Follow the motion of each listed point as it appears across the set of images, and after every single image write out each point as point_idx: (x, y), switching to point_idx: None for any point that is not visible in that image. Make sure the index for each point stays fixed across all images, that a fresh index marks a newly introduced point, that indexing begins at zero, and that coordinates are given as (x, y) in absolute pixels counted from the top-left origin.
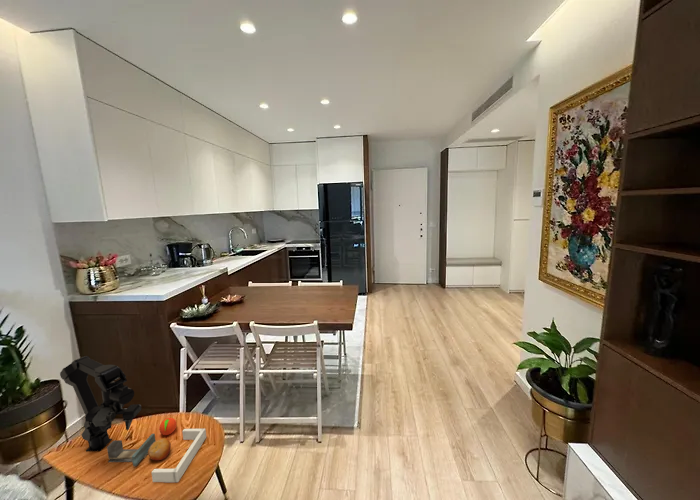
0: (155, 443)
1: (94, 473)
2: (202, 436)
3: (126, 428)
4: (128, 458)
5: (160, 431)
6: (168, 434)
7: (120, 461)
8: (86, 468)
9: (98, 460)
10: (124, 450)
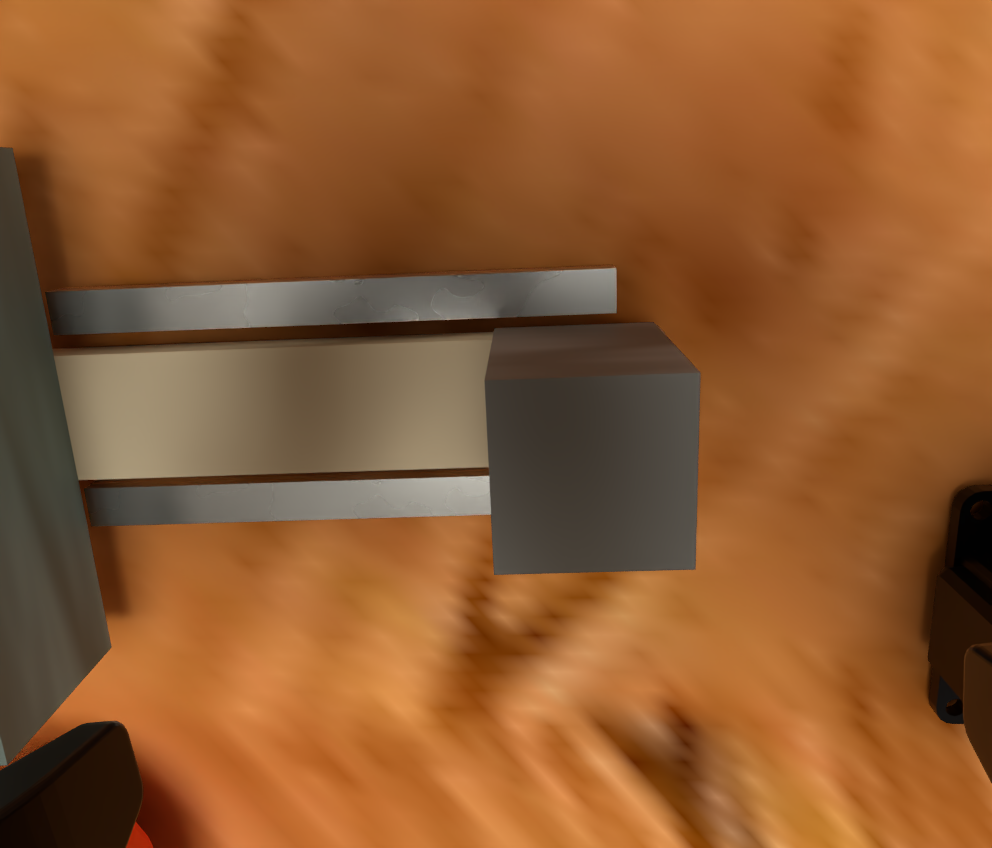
0: None
1: (687, 34)
2: None
3: (26, 778)
4: (298, 341)
5: None
6: None
7: (389, 276)
8: (929, 136)
9: (839, 309)
10: None
